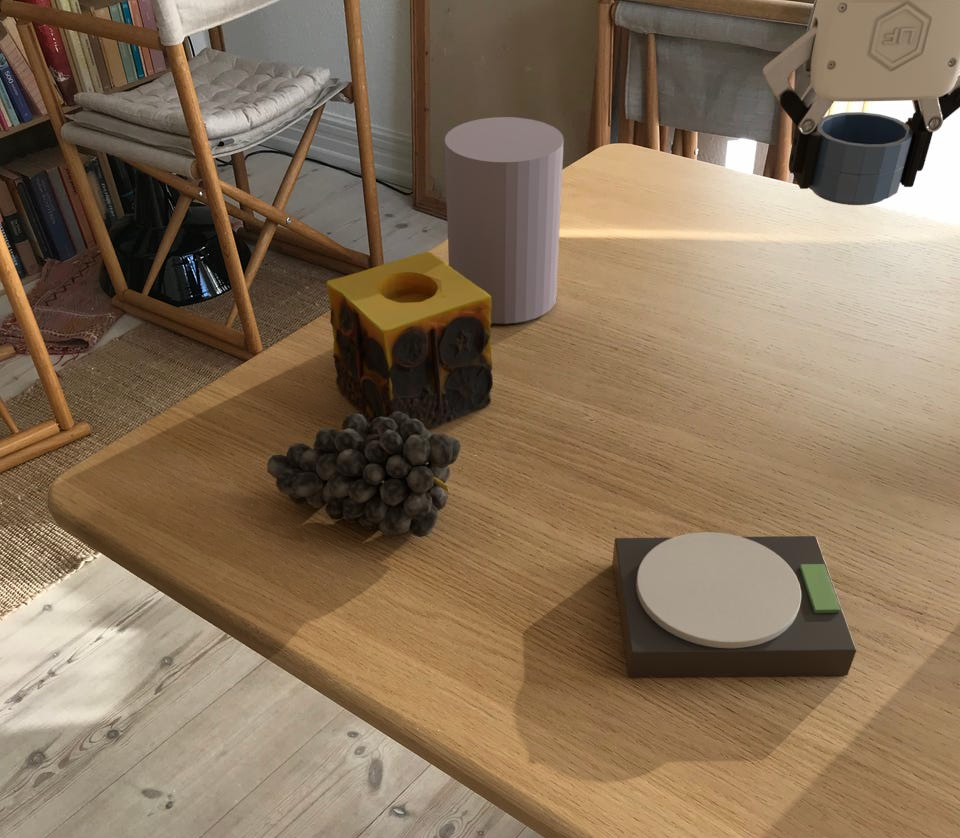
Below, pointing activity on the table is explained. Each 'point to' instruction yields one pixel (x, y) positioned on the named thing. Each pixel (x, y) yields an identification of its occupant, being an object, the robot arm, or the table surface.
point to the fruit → (372, 473)
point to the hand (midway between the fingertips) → (852, 179)
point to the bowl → (860, 157)
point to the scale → (729, 607)
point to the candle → (412, 340)
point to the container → (506, 212)
